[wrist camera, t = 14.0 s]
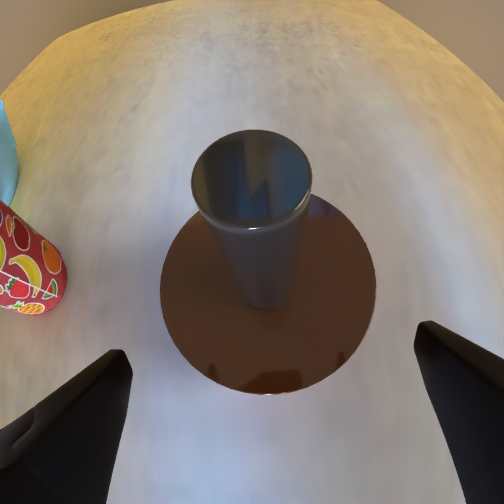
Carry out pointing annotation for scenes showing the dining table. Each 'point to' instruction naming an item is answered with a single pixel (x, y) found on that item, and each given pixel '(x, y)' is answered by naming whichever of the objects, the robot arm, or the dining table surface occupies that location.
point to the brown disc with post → (265, 271)
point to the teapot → (7, 159)
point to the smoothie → (28, 267)
